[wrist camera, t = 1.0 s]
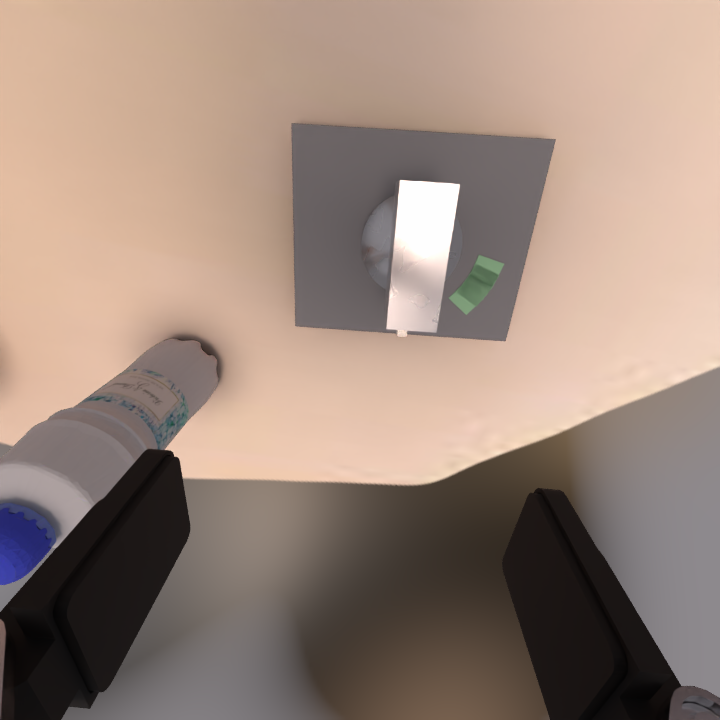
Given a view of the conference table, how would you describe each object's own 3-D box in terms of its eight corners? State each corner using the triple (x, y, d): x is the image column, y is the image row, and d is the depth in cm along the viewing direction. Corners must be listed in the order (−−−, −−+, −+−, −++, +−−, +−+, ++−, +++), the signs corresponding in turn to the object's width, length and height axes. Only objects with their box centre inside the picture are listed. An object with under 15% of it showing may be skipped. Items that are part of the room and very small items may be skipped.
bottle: (237, 350, 33) (63, 553, 15) (215, 406, 35) (44, 636, 17) (164, 316, 32) (-121, 491, 14) (146, 376, 34) (-110, 588, 16)
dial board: (296, 126, 25) (291, 123, 24) (546, 142, 25) (556, 139, 23) (299, 320, 31) (295, 326, 30) (500, 334, 31) (505, 341, 29)
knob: (469, 186, 25) (499, 186, 18) (444, 331, 29) (462, 372, 23) (365, 179, 25) (360, 177, 19) (356, 325, 29) (350, 364, 23)
